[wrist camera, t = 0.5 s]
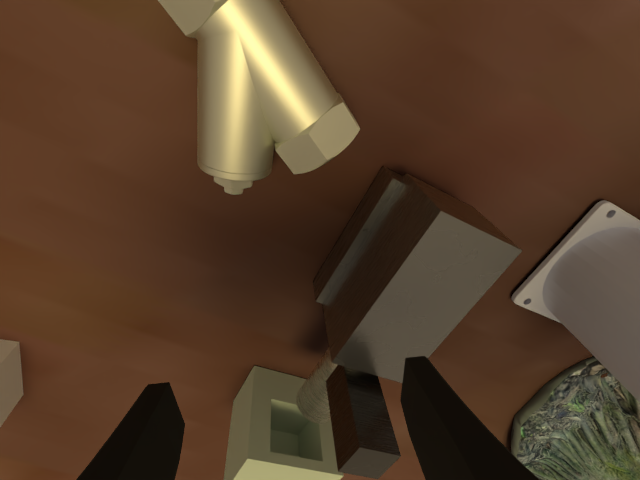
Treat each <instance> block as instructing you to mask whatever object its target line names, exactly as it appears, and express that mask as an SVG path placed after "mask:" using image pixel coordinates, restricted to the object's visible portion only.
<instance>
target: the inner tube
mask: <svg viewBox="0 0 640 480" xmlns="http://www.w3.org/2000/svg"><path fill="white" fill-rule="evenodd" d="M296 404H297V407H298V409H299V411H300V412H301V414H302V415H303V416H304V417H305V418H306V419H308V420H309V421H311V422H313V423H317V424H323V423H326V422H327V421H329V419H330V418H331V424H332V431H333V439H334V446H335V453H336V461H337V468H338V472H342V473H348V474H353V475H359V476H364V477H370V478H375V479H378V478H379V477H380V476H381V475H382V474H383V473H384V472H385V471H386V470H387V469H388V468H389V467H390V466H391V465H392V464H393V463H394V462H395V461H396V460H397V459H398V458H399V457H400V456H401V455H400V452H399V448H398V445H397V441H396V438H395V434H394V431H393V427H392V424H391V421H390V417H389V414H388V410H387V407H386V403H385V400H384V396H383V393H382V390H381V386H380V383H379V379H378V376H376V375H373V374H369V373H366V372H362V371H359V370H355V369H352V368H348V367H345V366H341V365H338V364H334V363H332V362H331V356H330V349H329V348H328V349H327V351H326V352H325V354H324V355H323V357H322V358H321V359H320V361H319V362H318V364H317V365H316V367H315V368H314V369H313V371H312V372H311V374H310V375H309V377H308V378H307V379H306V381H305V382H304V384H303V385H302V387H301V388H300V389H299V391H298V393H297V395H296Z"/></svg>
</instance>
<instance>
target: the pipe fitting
mask: <svg viewBox="0 0 640 480" xmlns="http://www.w3.org/2000/svg"><path fill="white" fill-rule="evenodd" d="M158 1H159V2H160V3H161V5H162V6H163V7H164V9H165V10H166V11H167V12H168V14H169V15H170V16H171V18H172V19H173V20H174V21H175V23H176V24H177V25H178V26H179V28H180V29H181V30H182V32H183V33H184V34H185V35H186V36H188V37H191V38H196V39H197V40H198V93H197V164H198V166H199V168H200V169H201V170H202V171H204V172H205V173H207V174H209V175H211V176H214V181H215V182H216V183H217V184H219V185H221V186H223V187H224V191H225V192H226V193H228V194H232V195H238V194H242V193H243V190H244V189H245V188H249V187H252V184H253V181H255V180H260V179H263V178H265V177H267V176H268V175H269V174H270V173H271V171H272V163H273V154H274V146H275V151H276V152H277V153H278V154H279V156H280V157H281V158H282V160H283V161H284V162H285V163H286V165H287V166H288V167H289V168H290V170H291V171H292V172H293V174H301V173H306V172H309V171H312V170H314V169H316V168H318V167H320V166H322V165H324V164H325V163H327V162H329V161H330V160H331V159H333V158H334V157H336V156H337V155H338V154H339V153H340V152H342V151H343V150H344V149H345V148H346V147H347V146H348V145H349V144H350V143H351V142H352V141H353V139H354V138H355V137H356V135H357V134H358V132H359V130H360V127H359V125H358V123H357V121H356V120H355V118H354V116H353V115H352V113H351V111H350V110H349V108H348V106H347V105H346V103H345V102H344V100H343V98H342V97H341V95H340V94H339V93H337V92H336V91H335V89H334V87H333V86H332V84H331V83H330V81H329V79H328V78H327V76H326V75H325V73H324V71H323V70H322V68H321V67H320V65H319V63H318V62H317V60H316V59H315V57H314V55H313V54H312V52H311V51H310V49H309V47H308V46H307V44H306V43H305V41H304V39H303V38H302V36H301V35H300V33H299V31H298V30H297V28H296V27H295V25H294V23H293V22H292V20H291V19H290V17H289V15H288V14H287V12H286V11H285V9H284V7H283V6H282V4H281V3H280V1H279V0H158Z"/></svg>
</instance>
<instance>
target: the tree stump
mask: <svg viewBox="0 0 640 480" xmlns="http://www.w3.org/2000/svg"><path fill="white" fill-rule="evenodd" d="M608 372H609V371H608V370H607V369H606V368H605V367H604V366H603V365H602V364H601V363H600V362H599V361H598V360H597V359H596V358H595V357H594V356H593V357H591V358H588V359H585V360H583V361H581V362H579V363H577V364H575V365H573V366H571V367H570V368H568V369H566V370H564V371H563V372H561V373H560V374H559V375H557V376H556V377H555V378H553V379H552V380H550V381H549V382H548V383H546V384H545V385H544V386H543V387H542V388H541V389H540V390H539V391H538V392H537V393H536V394H535V395H534V396H533V397H532V398H531V399H530V400H529V401H528V402H527V403H526V404H525V405H524V406H523V407H522V408H521V409H520V410H519V411H518V412H517V414H516V415H515V416H514V421H513V426H512V431H511V453H512V454H513V455H514V456H515V457H516V458H517V459H518V460H519V461H520V462H521V463H522V464H523V465H524V466H525V467H526V468H527V469H529V470H530V471H531V472H532V473H533V474H534V475H535V476H536V477H537V478H538V479H539V480H640V402H639V401H638V400H637V399H636V398H635V397H634V396H633V395H632V394H631V393H630V392H629V391H628V390H627V389H626V388H625V387H624V386H623V385H622V384H621V383H620V382H619V381H618V380H617V379H616V378H615V377H614V376H613V375H612V374H611V373H610V372H609V373H608ZM605 373H608V374H607V375H608V376H607V377H605V378H601V375H602V374H605Z"/></svg>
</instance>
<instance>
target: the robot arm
mask: <svg viewBox="0 0 640 480" xmlns="http://www.w3.org/2000/svg"><path fill="white" fill-rule="evenodd" d="M608 212H609V213H608ZM607 213H608V214H607ZM511 299H512V301H513V302H514V303H515V304H517V305H519V306H521V307H524V308H526V309H529V310H531V311H533V312H536V313H538V314H540V315H543V316H545V317H548V318H550V319H552V320H555V321H557V322H559V323H562V324H563V325H564V326H565V327H566V328H567V329H568V330H569V331H570V332H571V333H572V334H573V335H574V336H575V337H576V338H577V339H578V340H579V341H580V342H581V343H582V344H583V345H584V346H585V347H586V348H587V350H588V351H589V352H590V353H591V354H592V355H593V356H594V357H595V358H596V359H597V360H598V361H599V362H600V363H601V364H602V365H603V366H604V367H605V368H606V369H607V370H608V371H609V372H610V373H611V374H612V375H613V376H614V377H615V378H616V379H617V380H618V381H619V382H620V383H621V384H622V385H623V386H624V387H625V388H626V389H627V390H628V391H629V392H630V393H631V394H632V395H633V396H634V397H635V398H636V399H637V400H638V401H639V402H640V220H638V219H637V218H635V217H634V216H632V215H630V214H629V213H627V212H625V211H624V210H622V209H620V208H619V207H617V206H616V205H614V204H612V203H610V202H609V201H606V200H603V201H600V202H598V203H597V204H596V205H595V206H594V207H593V208H592V209H591V210H590V211H589V212H588V213H587V214H586V215H585V216H584V217H583V219H582V220H581V221H580V222H579V223H578V224H577V225H576V226H575V227H574V228H573V229H572V230H571V232H570V233H569V234H568V235H567V236H566V237H565V238H564V239H563V240H562V241H561V242H560V244H559V245H558V246H557V247H556V248H555V249H554V250H553V251H552V252H551V253H550V254H549V255H548V257H547V258H546V259H545V260H544V261H543V262H542V263H541V264H540V265H539V266H538V267H537V268H536V270H535V271H534V272H533V273H532V274H531V275H530V276H529V277H528V278H527V279H526V280H525V281H524V283H523V284H522V285H521V286H520V287H519V288H518V289H517V290H516V291H515V292H514V293H513V295H512V298H511ZM401 404H402V408H403V412H404V416H405V420H406V424H407V428H408V431H409V435H410V438H411V441H412V443H413V446H414V449H415V452H416V454H417V457H418V460H419V463H420V465H421V468H422V471H423V473H424V476H425V479H426V480H539V479H538V478H537V477H536V476H535V475H534V474H533V473H532V472H531V471H530V470H529V469H527V468H526V467H525V466H524V465H523V464H522V463H521V462H520V461H519V460H518V459H517V458H516V457H515V456H514V455H513V454H512V453H511V452H510V451H509V450H508V449H507V448H506V447H505V446H504V445H503V444H502V443H501V442H500V441H499V440H498V439H497V438H496V437H495V436H494V435H493V434H492V433H491V432H490V431H489V430H488V429H487V428H486V427H485V426H484V424H483V423H482V422H481V421H480V420H479V419H478V418H477V417H476V416H475V415H474V413H473V412H472V411H471V410H470V409H469V408H468V407H467V406H466V405H465V403H464V402H463V401H462V400H461V399H460V398H459V396H458V395H457V394H456V393H455V392H454V391H453V389H452V388H451V387H450V386H449V385H448V383H447V382H446V381H445V380H444V378H443V377H442V376H441V375H440V374H439V372H438V371H437V370H436V368H435V367H434V366H433V365H432V363H431V362H430V361H429V360H428V358H427V357H425V356H418V357H408V358H405V365H404V374H403V383H402V392H401ZM184 427H185V423H184V420H183V418H182V415H181V412H180V410H179V407H178V404H177V402H176V399H175V396H174V394H173V391H172V389H171V386H170V383H169V382H168V383H158V384H148V385H147V387H146V388H145V389H144V390H143V392H142V393H141V395H140V396H139V397H138V399H137V400H136V402H135V403H134V404H133V406H132V407H131V409H130V410H129V411H128V413H127V414H126V415H125V417H124V418H123V420H122V421H121V422H120V424H119V425H118V426H117V428H116V429H115V430H114V432H113V433H112V435H111V436H110V437H109V438H108V440H107V441H106V442H105V444H104V445H103V446H102V448H101V449H100V450H99V452H98V453H97V454H96V456H95V457H94V458H93V459H92V461H91V462H90V463H89V465H88V466H87V467H86V468H85V470H84V471H83V472H82V473H81V475H80V476H79V477H78V478H77V479H76V480H174V479H175V476H176V472H177V468H178V464H179V460H180V454H181V448H182V441H183V434H184Z"/></svg>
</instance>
